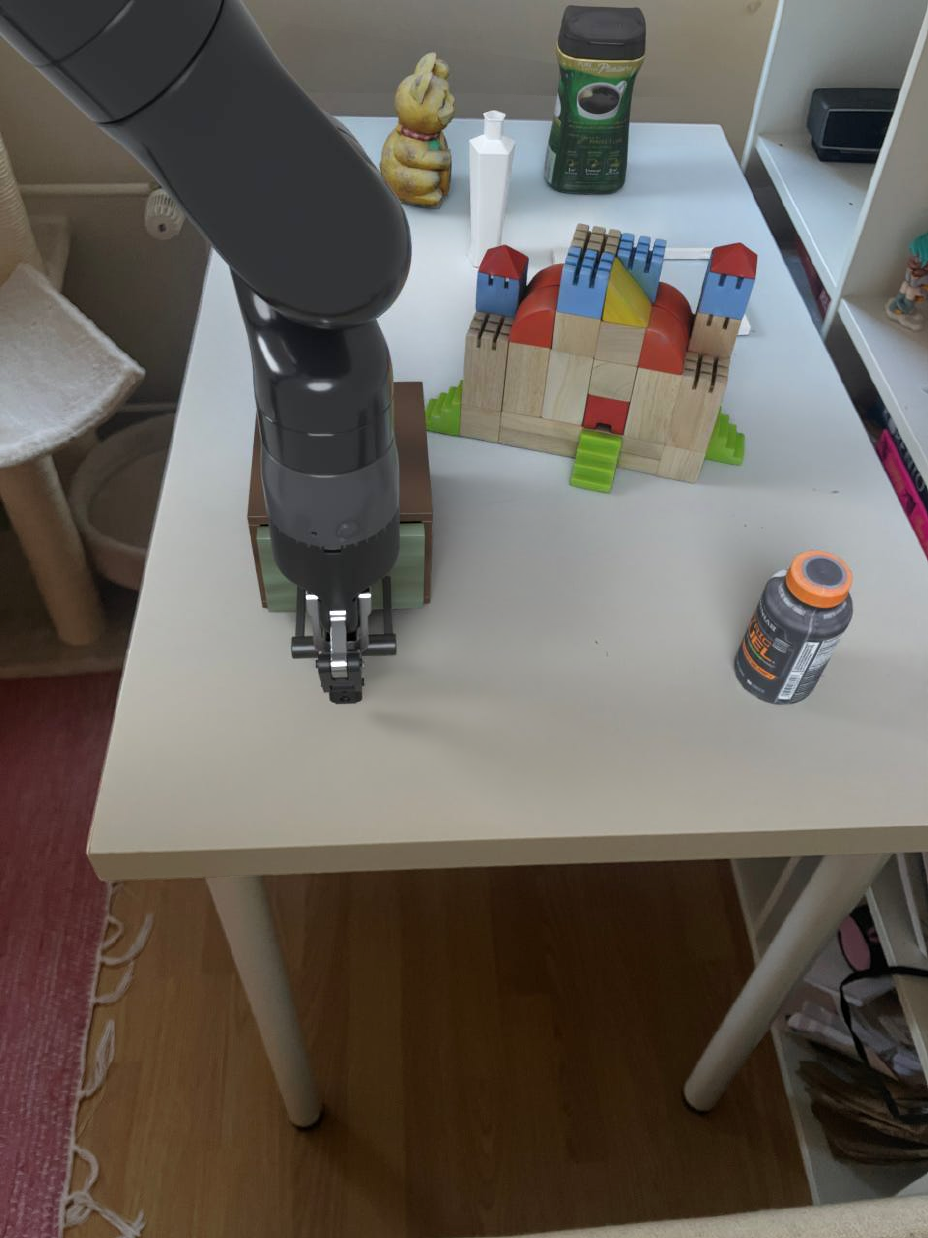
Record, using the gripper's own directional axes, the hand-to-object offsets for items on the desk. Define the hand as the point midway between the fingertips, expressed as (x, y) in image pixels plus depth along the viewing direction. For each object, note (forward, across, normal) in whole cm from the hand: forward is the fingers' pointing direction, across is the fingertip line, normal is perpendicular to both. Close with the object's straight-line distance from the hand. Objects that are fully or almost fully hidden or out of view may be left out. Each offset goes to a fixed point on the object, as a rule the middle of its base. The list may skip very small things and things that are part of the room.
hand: (346, 675), depth 69 cm
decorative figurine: (+2, -69, +8) cm, 69 cm away
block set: (+2, -27, +21) cm, 34 cm away
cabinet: (+2, -15, 0) cm, 15 cm away
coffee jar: (+2, -73, +28) cm, 78 cm away
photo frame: (+2, -49, +31) cm, 58 cm away
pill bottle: (+2, 0, +31) cm, 31 cm away
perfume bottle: (+2, -56, +15) cm, 58 cm away
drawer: (+1, -10, 0) cm, 10 cm away
